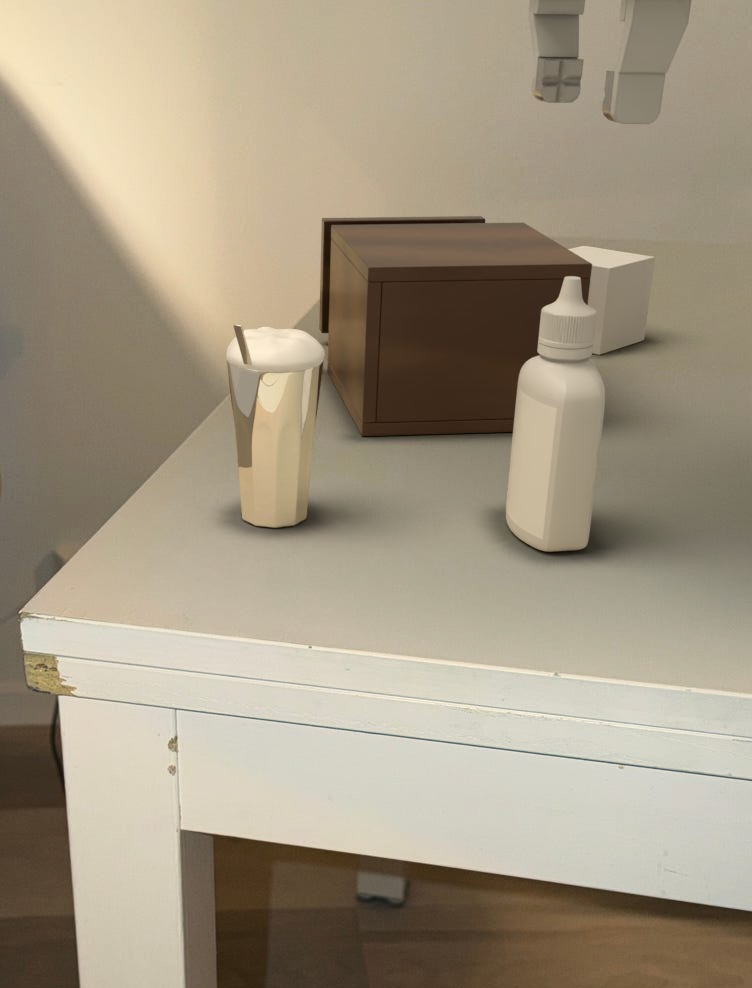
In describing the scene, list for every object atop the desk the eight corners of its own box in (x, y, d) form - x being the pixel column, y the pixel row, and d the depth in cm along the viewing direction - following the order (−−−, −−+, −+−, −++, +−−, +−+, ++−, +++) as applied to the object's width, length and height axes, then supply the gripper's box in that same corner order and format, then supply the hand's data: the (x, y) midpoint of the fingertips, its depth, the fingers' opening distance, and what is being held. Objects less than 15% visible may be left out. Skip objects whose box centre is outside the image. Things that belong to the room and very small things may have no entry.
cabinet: (327, 373, 88) (331, 224, 83) (510, 368, 89) (524, 222, 84) (361, 436, 75) (368, 267, 71) (573, 430, 77) (592, 263, 72)
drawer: (309, 313, 99) (311, 206, 95) (457, 310, 100) (464, 204, 97) (346, 376, 83) (350, 251, 80) (520, 372, 85) (532, 248, 81)
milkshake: (199, 525, 63) (195, 318, 59) (261, 493, 67) (262, 296, 63) (277, 546, 61) (279, 332, 56) (337, 511, 65) (343, 309, 60)
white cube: (599, 355, 92) (609, 268, 89) (528, 340, 96) (536, 256, 93) (644, 340, 96) (655, 256, 93) (574, 326, 100) (583, 245, 97)
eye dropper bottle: (488, 547, 61) (511, 287, 55) (510, 506, 66) (533, 262, 60) (583, 560, 60) (616, 294, 54) (598, 517, 64) (630, 269, 59)
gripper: (480, -253, 57) (455, 91, 63) (653, -362, 39) (595, 137, 45) (620, -248, 57) (582, 92, 64) (855, -353, 39) (770, 138, 45)
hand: (588, 111), depth 54 cm, fingers open, 8 cm apart
